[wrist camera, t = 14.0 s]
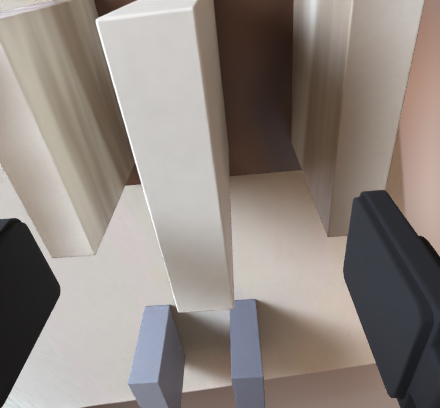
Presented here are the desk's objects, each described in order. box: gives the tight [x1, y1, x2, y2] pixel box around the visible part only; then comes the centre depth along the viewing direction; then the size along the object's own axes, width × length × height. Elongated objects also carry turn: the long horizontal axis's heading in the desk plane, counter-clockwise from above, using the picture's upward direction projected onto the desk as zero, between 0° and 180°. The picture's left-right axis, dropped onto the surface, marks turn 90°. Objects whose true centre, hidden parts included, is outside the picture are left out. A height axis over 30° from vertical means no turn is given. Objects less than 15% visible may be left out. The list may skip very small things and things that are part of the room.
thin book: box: [96, 0, 234, 313], centre depth 17 cm, size 2×11×15 cm, turn 6°
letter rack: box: [0, 0, 425, 258], centre depth 19 cm, size 17×16×12 cm
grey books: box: [128, 299, 265, 408], centre depth 39 cm, size 13×11×9 cm
